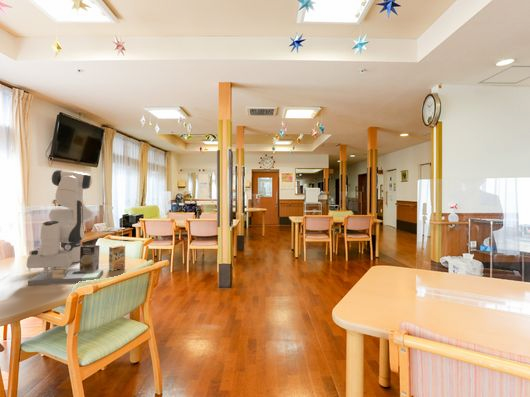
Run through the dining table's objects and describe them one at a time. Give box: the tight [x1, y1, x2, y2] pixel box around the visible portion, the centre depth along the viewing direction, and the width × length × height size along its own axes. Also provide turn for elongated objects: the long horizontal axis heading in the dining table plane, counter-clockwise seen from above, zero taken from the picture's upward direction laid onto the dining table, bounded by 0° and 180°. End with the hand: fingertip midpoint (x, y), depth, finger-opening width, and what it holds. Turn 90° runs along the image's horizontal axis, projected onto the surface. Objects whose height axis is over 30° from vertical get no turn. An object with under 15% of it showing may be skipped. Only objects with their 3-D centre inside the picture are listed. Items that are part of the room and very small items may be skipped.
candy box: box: [108, 244, 126, 272], centre depth 182 cm, size 9×4×15 cm, turn 150°
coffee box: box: [79, 244, 100, 271], centre depth 178 cm, size 9×6×16 cm
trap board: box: [27, 269, 104, 286], centre depth 160 cm, size 16×32×2 cm, turn 108°
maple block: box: [51, 267, 68, 279], centre depth 155 cm, size 5×5×4 cm
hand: (49, 275), depth 154 cm, fingers closed
